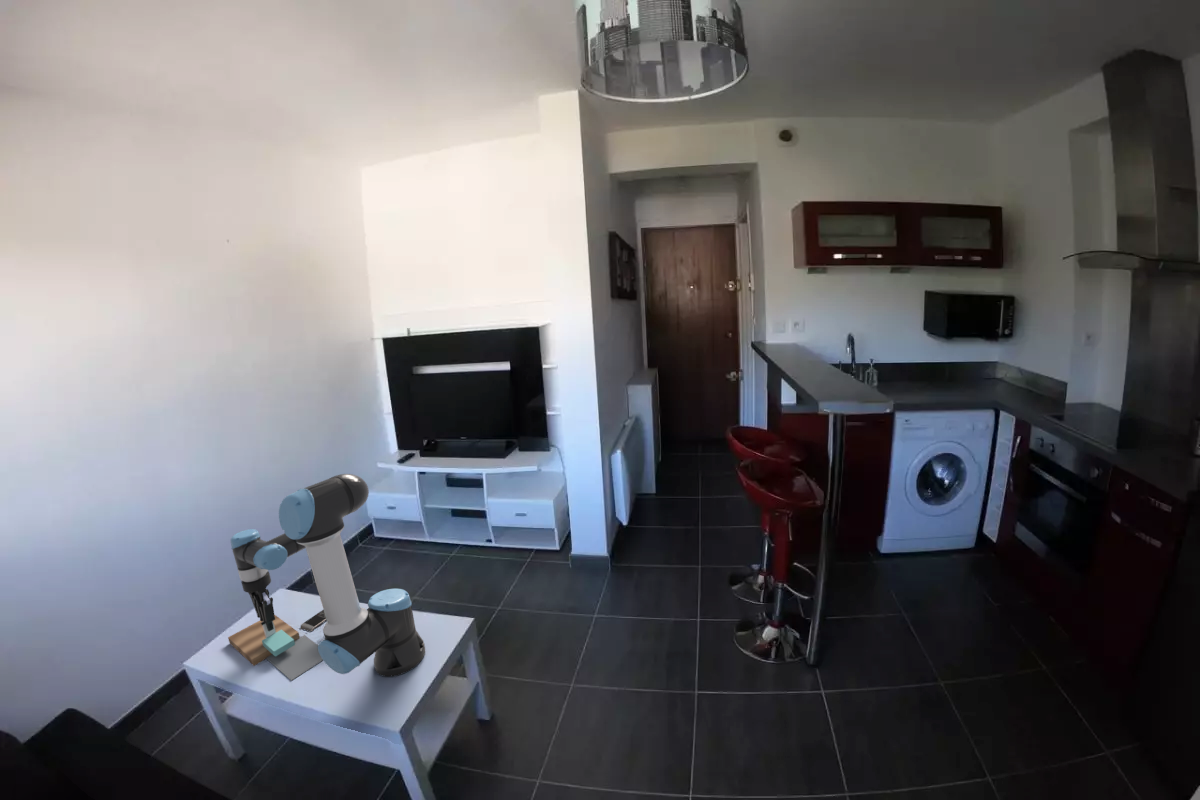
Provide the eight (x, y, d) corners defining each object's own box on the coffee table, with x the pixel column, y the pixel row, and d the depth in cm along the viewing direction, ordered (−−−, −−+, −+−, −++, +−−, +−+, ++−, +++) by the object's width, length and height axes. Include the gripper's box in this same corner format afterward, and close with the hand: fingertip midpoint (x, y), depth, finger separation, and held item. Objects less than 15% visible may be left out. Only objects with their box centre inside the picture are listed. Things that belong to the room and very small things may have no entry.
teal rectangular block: (295, 644, 156) (293, 639, 155) (275, 656, 151) (273, 651, 151) (282, 634, 161) (281, 629, 160) (263, 645, 156) (261, 640, 155)
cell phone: (339, 613, 175) (338, 610, 174) (311, 633, 165) (310, 629, 165) (328, 609, 177) (327, 606, 177) (299, 629, 168) (298, 625, 167)
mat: (331, 655, 153) (330, 654, 153) (291, 681, 144) (291, 680, 144) (304, 635, 163) (304, 635, 163) (266, 658, 154) (265, 657, 154)
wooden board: (300, 638, 162) (298, 632, 161) (253, 666, 151) (252, 659, 150) (274, 619, 173) (273, 613, 172) (229, 643, 162) (227, 637, 161)
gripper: (276, 575, 152) (292, 636, 158) (259, 564, 160) (275, 623, 165) (250, 587, 146) (267, 651, 152) (233, 576, 154) (250, 637, 159)
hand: (271, 636), depth 158 cm, fingers closed
